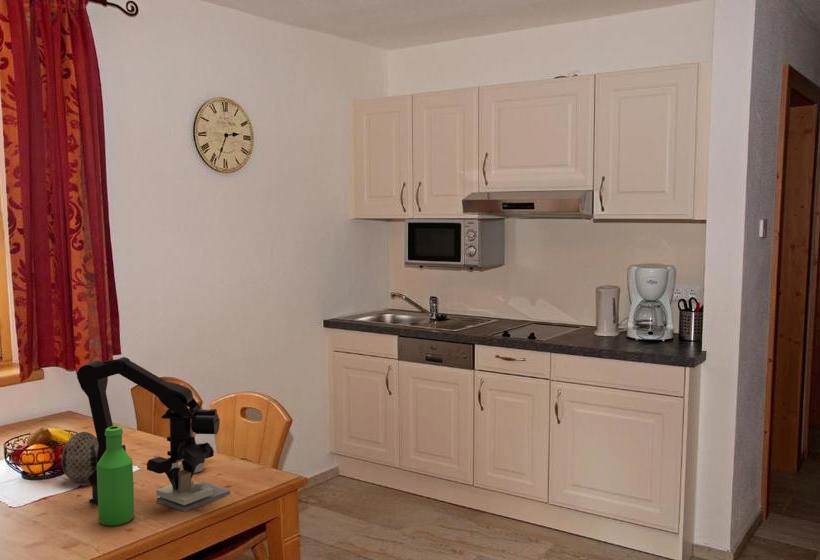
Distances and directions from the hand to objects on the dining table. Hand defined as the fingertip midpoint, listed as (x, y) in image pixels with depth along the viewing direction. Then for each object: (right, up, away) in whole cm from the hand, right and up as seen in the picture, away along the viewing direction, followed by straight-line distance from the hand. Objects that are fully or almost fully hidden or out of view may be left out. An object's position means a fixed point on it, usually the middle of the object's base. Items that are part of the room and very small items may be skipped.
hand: (181, 487), depth 212 cm
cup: (-5, -2, +25) cm, 25 cm away
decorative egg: (-34, -3, +16) cm, 38 cm away
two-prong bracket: (+1, -2, +1) cm, 3 cm away
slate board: (+2, -4, +4) cm, 6 cm away
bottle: (-14, -6, -12) cm, 19 cm away
